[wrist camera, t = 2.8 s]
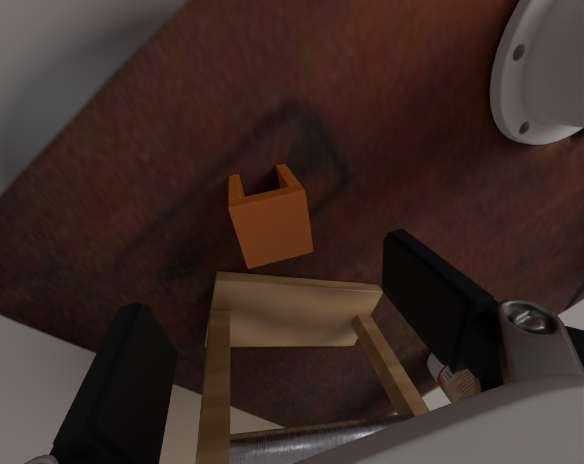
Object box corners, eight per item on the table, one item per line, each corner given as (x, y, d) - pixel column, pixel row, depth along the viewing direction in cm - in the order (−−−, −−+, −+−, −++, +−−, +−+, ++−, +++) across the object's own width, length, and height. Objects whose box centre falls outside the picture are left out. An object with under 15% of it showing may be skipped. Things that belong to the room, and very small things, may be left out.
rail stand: (216, 270, 20) (203, 454, 10) (377, 284, 26) (478, 416, 15) (205, 336, 24) (186, 524, 14) (349, 337, 29) (415, 474, 19)
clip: (285, 163, 17) (305, 190, 13) (293, 213, 19) (313, 252, 15) (228, 175, 17) (227, 207, 12) (243, 225, 19) (247, 269, 14)
